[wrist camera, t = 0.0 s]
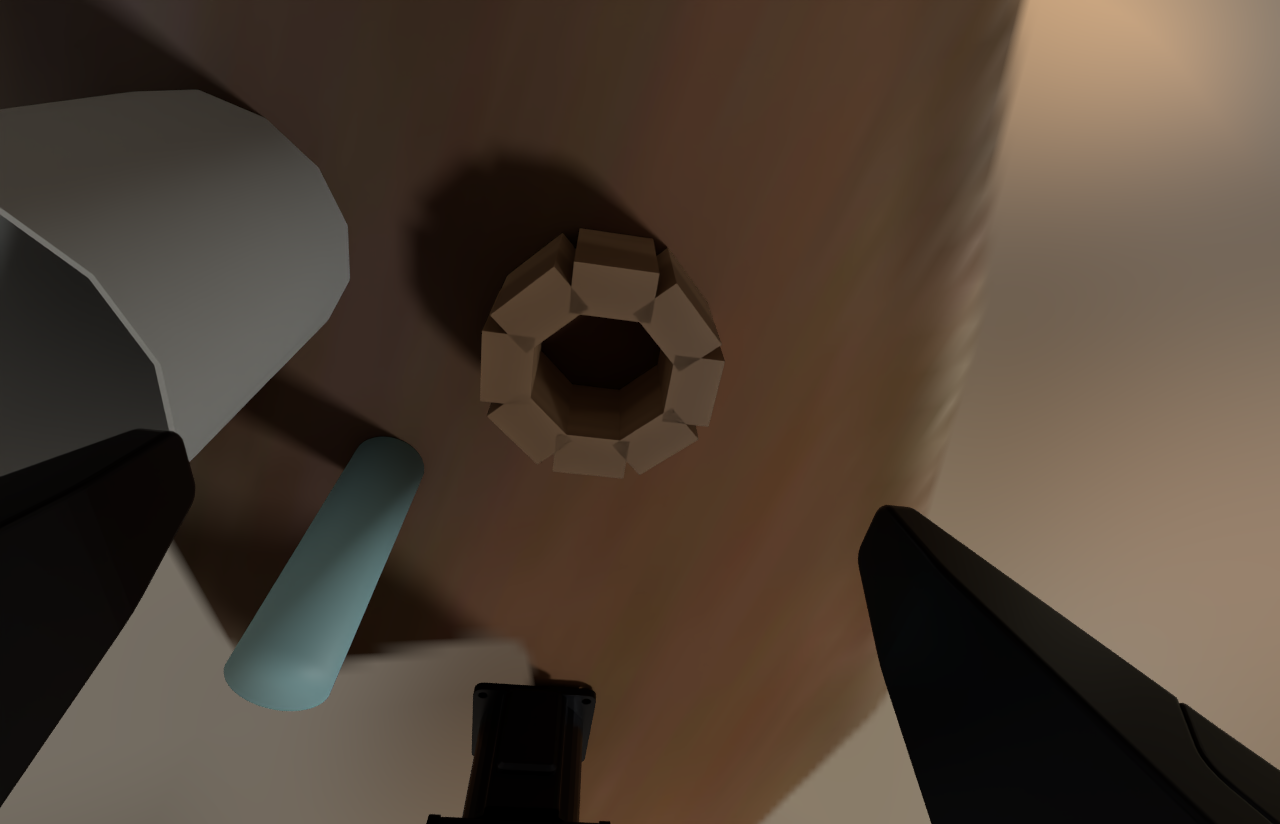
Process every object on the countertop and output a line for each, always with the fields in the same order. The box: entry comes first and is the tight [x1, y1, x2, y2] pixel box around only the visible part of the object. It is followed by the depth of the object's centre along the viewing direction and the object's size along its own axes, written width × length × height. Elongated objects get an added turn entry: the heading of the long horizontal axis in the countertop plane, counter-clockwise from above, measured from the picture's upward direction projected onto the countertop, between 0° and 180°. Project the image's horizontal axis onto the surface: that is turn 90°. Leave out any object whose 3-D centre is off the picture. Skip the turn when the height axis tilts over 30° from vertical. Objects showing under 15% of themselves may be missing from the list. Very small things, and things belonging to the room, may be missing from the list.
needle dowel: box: [224, 437, 424, 711], centre depth 21 cm, size 3×3×10 cm
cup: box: [0, 90, 350, 476], centre depth 16 cm, size 8×8×10 cm
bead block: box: [480, 228, 725, 479], centre depth 22 cm, size 8×8×4 cm
